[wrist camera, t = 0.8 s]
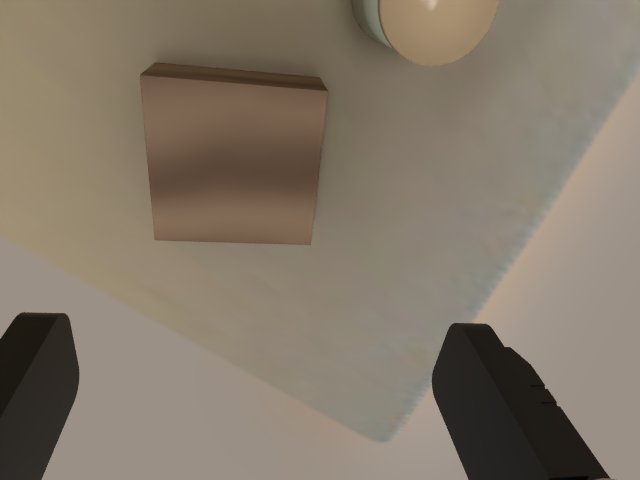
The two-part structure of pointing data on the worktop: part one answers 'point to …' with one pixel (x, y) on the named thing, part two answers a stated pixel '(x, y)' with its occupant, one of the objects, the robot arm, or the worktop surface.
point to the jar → (427, 26)
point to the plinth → (232, 153)
